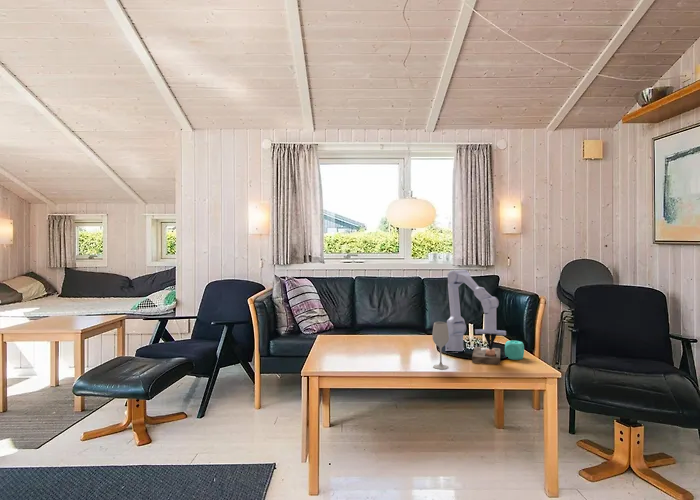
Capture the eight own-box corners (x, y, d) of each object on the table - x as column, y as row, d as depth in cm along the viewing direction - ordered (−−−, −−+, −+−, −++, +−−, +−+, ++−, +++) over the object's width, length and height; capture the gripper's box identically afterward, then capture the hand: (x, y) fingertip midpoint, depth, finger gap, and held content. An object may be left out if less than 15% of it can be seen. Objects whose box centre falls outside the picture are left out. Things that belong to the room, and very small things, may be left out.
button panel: (472, 362, 219) (472, 356, 219) (474, 352, 239) (474, 346, 239) (500, 364, 215) (500, 358, 215) (500, 354, 235) (500, 348, 235)
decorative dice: (524, 357, 228) (524, 341, 228) (521, 360, 222) (521, 344, 222) (507, 355, 233) (507, 339, 232) (504, 358, 226) (504, 342, 226)
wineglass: (443, 364, 217) (442, 320, 216) (452, 368, 210) (451, 323, 209) (429, 366, 214) (429, 322, 214) (438, 370, 207) (437, 324, 206)
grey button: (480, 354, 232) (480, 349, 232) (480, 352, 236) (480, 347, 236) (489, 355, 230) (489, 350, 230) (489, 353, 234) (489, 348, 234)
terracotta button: (485, 356, 220) (485, 350, 220) (486, 354, 224) (486, 348, 224) (495, 357, 219) (495, 351, 219) (495, 354, 223) (495, 349, 223)
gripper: (474, 322, 220) (474, 349, 220) (505, 323, 215) (506, 351, 215) (475, 319, 227) (475, 346, 227) (505, 321, 222) (506, 348, 222)
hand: (490, 349), depth 222 cm, fingers closed
